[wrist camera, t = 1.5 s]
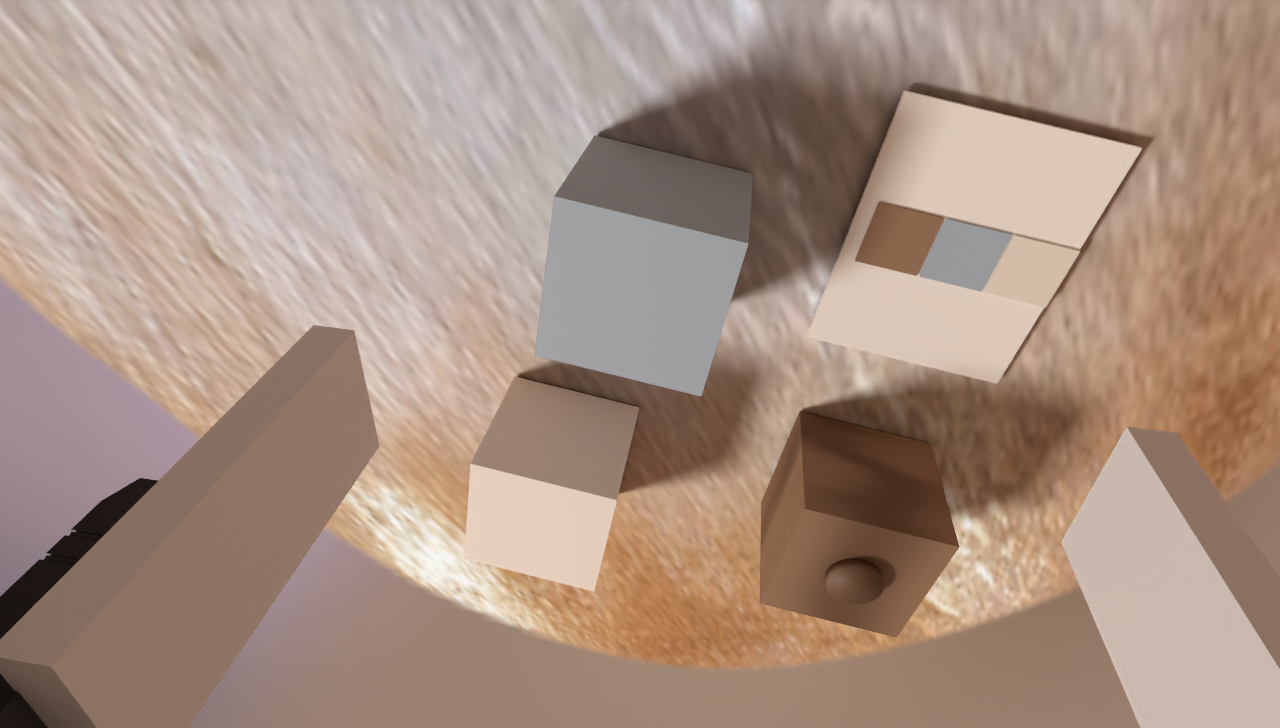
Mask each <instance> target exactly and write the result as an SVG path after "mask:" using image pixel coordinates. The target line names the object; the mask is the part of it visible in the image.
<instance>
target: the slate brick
mask: <svg viewBox="0 0 1280 728" xmlns="http://www.w3.org/2000/svg"><path fill="white" fill-rule="evenodd" d="M752 187H753V173H749V172H744V171H740V170H736V169H732V168H728V167H724V166H720V165H716V164H711V163H707V162H703V161H699V160H695V159H691V158H687V157H682V156H678V155H674V154H670V153H666V152H662V151H658V150H654V149H649V148H645V147H641V146H637V145H633V144H629V143H625V142H620V141H616V140H612V139H608V138H604V137H600V136H596V135H595V136H594V137H593V139H592V140H591V142H590V143H589V145H588V146H587V148H586V149H585V151H584V152H583V154H582V155H581V157H580V158H579V160H578V162H577V163H576V165H575V166H574V168H573V169H572V171H571V172H570V174H569V175H568V177H567V178H566V180H565V181H564V183H563V184H562V186H561V187H560V189H559V190H558V192H557V193H556V195H555V196H554V203H553V211H552V219H551V227H550V235H549V243H548V251H547V259H546V267H545V275H544V283H543V291H542V299H541V307H540V315H539V323H538V331H537V339H536V347H535V356H539V357H543V358H547V359H551V360H555V361H559V362H563V363H567V364H571V365H575V366H579V367H583V368H587V369H592V370H596V371H600V372H604V373H608V374H612V375H616V376H620V377H624V378H628V379H632V380H636V381H640V382H644V383H648V384H652V385H656V386H660V387H664V388H668V389H672V390H676V391H681V392H685V393H689V394H693V395H697V396H702V393H703V390H704V386H705V383H706V380H707V377H708V374H709V370H710V367H711V364H712V361H713V357H714V354H715V351H716V348H717V344H718V341H719V338H720V335H721V331H722V328H723V325H724V322H725V318H726V315H727V312H728V309H729V305H730V302H731V299H732V296H733V293H734V289H735V286H736V283H737V280H738V276H739V273H740V270H741V267H742V263H743V260H744V257H745V254H746V250H747V247H748V244H749V230H750V216H751V201H752Z"/></svg>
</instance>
